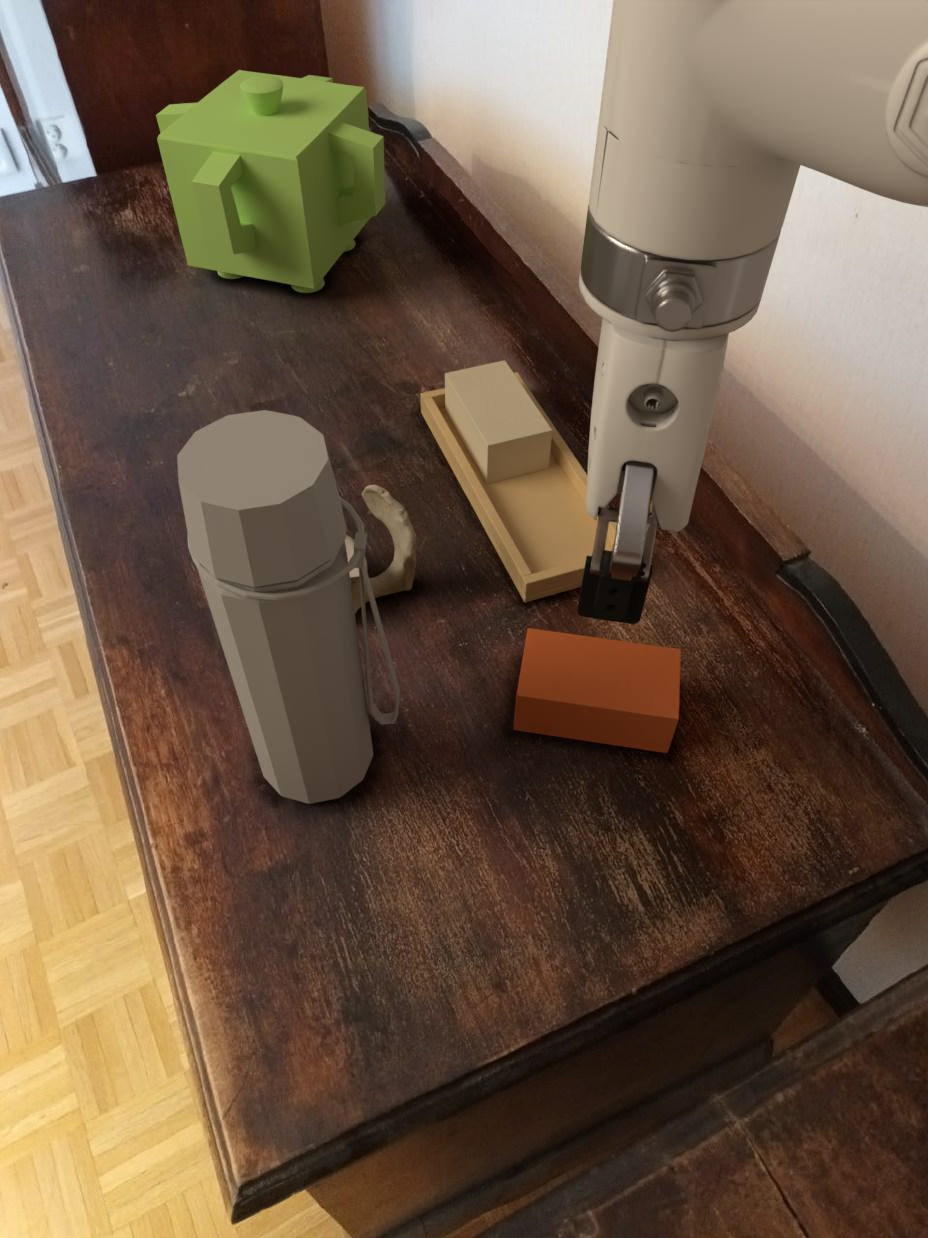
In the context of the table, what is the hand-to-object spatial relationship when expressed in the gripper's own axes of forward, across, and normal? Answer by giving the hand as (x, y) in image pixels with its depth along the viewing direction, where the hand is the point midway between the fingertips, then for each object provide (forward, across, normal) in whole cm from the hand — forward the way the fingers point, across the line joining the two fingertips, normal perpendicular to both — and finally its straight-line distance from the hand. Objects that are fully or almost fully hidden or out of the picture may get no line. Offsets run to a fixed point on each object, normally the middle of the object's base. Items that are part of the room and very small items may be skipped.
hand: (615, 549), depth 51 cm
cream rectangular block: (+14, +25, +10) cm, 30 cm away
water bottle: (+15, -8, +15) cm, 23 cm away
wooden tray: (+15, +20, +7) cm, 26 cm away
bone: (+15, +6, +17) cm, 24 cm away
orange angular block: (+14, 0, -1) cm, 15 cm away
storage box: (+15, +51, +37) cm, 65 cm away
